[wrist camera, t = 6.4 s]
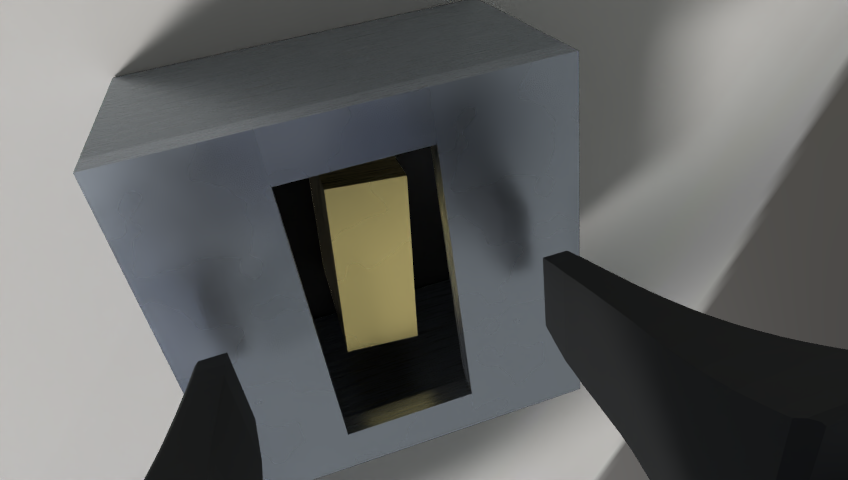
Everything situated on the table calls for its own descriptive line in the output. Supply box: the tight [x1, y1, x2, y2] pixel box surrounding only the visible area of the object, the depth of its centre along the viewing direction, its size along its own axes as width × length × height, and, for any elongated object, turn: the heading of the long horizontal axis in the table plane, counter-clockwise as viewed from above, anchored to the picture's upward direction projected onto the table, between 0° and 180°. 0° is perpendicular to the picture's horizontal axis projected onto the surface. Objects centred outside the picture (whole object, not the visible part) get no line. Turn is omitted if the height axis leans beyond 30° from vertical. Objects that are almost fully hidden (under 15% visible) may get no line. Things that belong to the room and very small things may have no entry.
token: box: [309, 156, 418, 352], centre depth 18 cm, size 2×5×4 cm, turn 1°
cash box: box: [73, 0, 580, 480], centre depth 17 cm, size 10×10×6 cm
